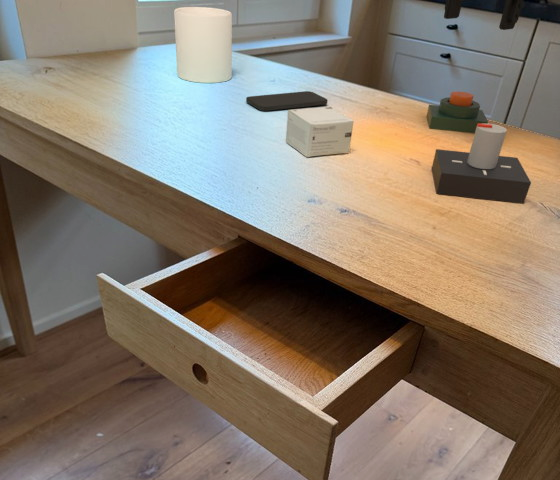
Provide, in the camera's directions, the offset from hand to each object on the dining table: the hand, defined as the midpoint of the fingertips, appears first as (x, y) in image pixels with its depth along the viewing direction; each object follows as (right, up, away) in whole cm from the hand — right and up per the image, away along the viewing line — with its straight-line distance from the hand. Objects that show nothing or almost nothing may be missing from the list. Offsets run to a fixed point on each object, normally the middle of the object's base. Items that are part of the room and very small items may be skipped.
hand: (477, 23), depth 85 cm
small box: (-24, -17, +6) cm, 30 cm away
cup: (-46, +12, +38) cm, 61 cm away
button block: (+3, -6, +20) cm, 21 cm away
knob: (-1, -23, -5) cm, 24 cm away
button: (+3, -4, +18) cm, 18 cm away
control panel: (-1, -25, -3) cm, 26 cm away
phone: (-29, 0, +25) cm, 38 cm away
